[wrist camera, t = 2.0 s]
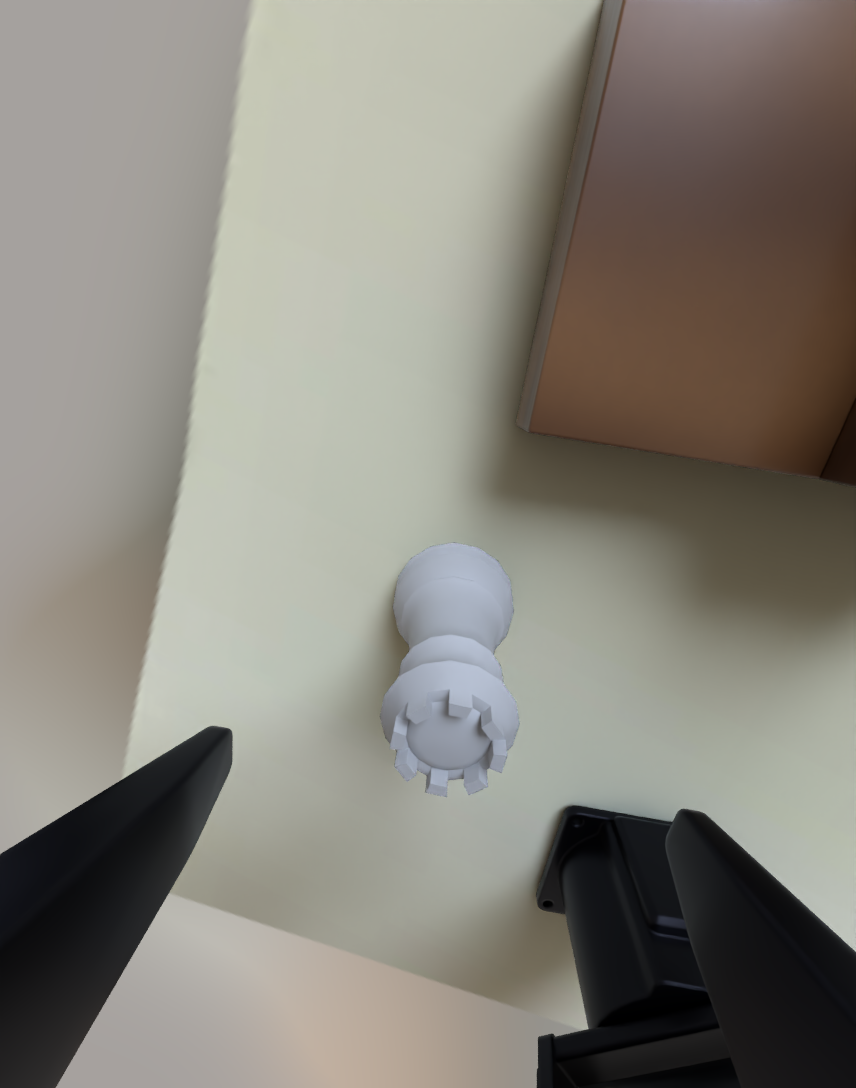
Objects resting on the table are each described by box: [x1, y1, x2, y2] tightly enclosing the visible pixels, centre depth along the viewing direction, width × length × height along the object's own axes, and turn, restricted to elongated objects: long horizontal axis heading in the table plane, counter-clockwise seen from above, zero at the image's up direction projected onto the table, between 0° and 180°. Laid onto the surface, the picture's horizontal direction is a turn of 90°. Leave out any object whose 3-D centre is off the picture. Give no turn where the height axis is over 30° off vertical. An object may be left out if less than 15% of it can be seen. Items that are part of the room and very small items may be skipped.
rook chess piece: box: [380, 542, 520, 797], centre depth 13 cm, size 4×4×8 cm
